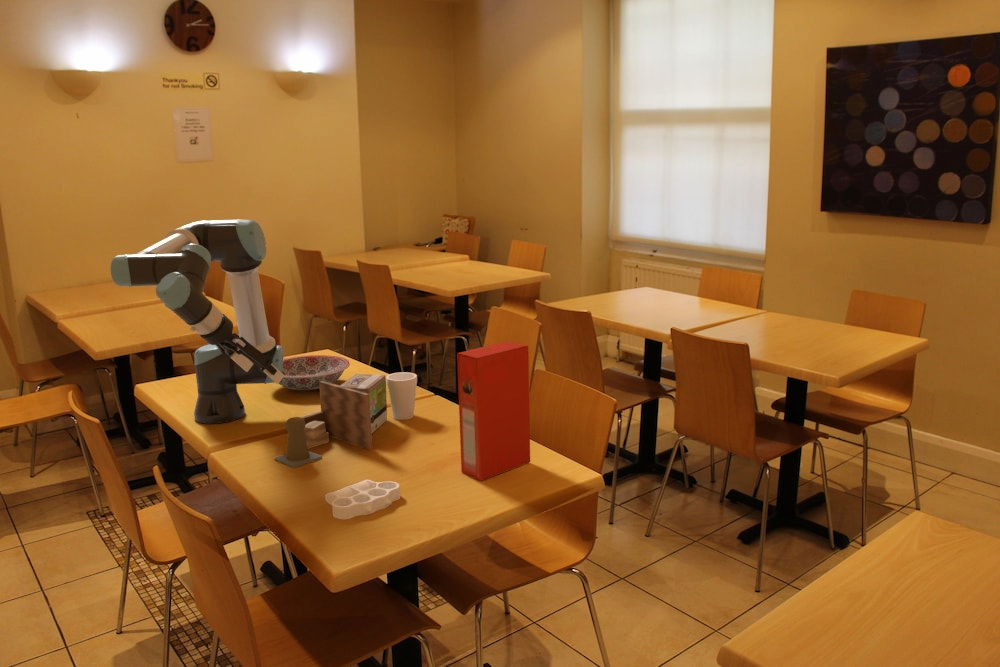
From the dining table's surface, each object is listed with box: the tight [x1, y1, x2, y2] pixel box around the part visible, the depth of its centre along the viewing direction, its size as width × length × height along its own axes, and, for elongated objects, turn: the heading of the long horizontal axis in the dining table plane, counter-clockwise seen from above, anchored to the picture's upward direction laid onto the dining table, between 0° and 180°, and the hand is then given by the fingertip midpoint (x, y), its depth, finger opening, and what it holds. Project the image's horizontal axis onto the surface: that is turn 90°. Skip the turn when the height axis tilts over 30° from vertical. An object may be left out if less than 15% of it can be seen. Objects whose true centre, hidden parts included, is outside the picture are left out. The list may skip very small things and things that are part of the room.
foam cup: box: [386, 371, 418, 421], centre depth 255 cm, size 10×9×13 cm
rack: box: [300, 381, 373, 451], centre depth 231 cm, size 21×12×16 cm, turn 49°
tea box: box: [339, 373, 388, 434], centre depth 246 cm, size 15×10×15 cm
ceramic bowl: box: [278, 354, 351, 391], centre depth 289 cm, size 29×29×8 cm
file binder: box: [456, 340, 531, 482], centre depth 211 cm, size 8×17×32 cm, turn 133°
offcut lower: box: [306, 432, 330, 449], centre depth 235 cm, size 4×7×3 cm, turn 136°
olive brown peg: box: [285, 416, 309, 461], centre depth 222 cm, size 6×6×11 cm
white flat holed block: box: [324, 478, 401, 520], centre depth 195 cm, size 3×18×15 cm
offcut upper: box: [304, 420, 326, 439], centre depth 234 cm, size 4×6×3 cm, turn 159°
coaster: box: [274, 450, 323, 469], centre depth 223 cm, size 9×9×1 cm
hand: (264, 373), depth 212 cm, fingers open, 13 cm apart
